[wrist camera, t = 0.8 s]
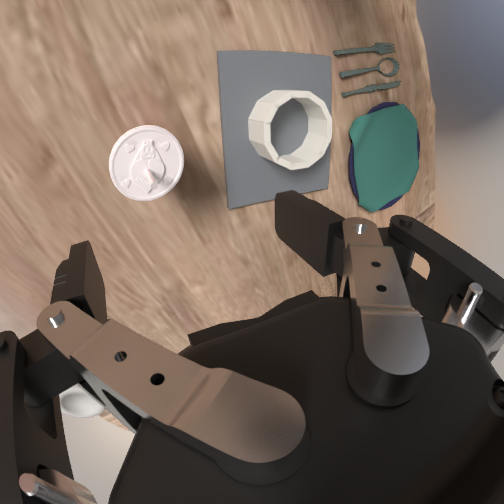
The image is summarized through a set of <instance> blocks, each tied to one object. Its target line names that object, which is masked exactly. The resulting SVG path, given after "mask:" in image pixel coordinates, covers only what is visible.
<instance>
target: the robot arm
mask: <svg viewBox="0 0 504 504" xmlns="http://www.w3.org/2000/svg"><path fill="white" fill-rule="evenodd" d="M275 229H276V233H277V235H278V237H279V238H280V239H281V240H282V241H283V242H284V243H285V244H287V245H288V246H289V247H290V248H291V249H292V250H293V251H295V252H296V253H297V254H298V255H299V256H300V257H301V258H303V259H304V260H305V261H306V262H307V263H308V264H309V265H310V266H312V267H313V268H314V269H315V270H316V271H317V272H318V273H319V274H321V275H322V276H323V277H325V276H327V275H330V274H332V273H336V276H335V297H320V298H319V297H318V296H317V295H316V294H315V293H314V292H313V291H312V290H311V291H308V292H305V293H303V294H300V295H298V296H295V297H293V298H290V299H287V300H285V301H283V302H282V303H280V304H279V305H277V306H276V307H274V308H273V309H271V310H270V311H268V312H266V313H265V314H263V315H262V316H260V317H258V318H254V319H248V320H241V321H235V322H228V323H221V324H218V325H215V326H212V327H209V328H206V329H203V330H200V331H197V332H194V333H191V334H188V337H189V341H190V344H191V345H190V346H188V347H187V348H185V349H184V350H182V351H181V352H180V353H178V354H176V353H174V352H172V351H170V350H168V349H166V348H164V347H162V346H160V345H158V344H157V343H155V342H153V341H151V340H149V339H147V338H145V337H143V336H142V335H140V334H138V333H136V332H134V331H133V330H131V329H129V328H127V327H126V326H124V325H122V324H120V323H119V322H117V321H115V320H113V319H108V320H107V312H106V299H105V287H104V282H103V278H102V275H101V272H100V270H99V267H98V264H97V261H96V258H95V256H94V253H93V250H92V247H91V244H90V242H89V241H88V240H87V241H84V242H81V243H78V244H74V245H71V249H70V255H69V259H67V260H64V261H62V263H61V264H60V265H59V267H58V268H57V270H56V275H55V280H54V286H53V291H52V297H51V303H50V305H49V306H47V307H46V308H45V309H44V310H43V311H42V312H41V313H40V315H39V316H38V319H37V328H38V329H36V330H35V331H33V332H32V333H30V334H28V335H27V336H25V337H23V338H21V339H20V340H19V339H18V337H17V336H16V334H15V333H14V332H12V331H3V332H1V333H0V504H97V502H96V500H95V498H94V496H93V495H92V493H91V492H90V491H89V490H88V489H87V488H86V487H85V486H83V485H81V484H79V483H78V482H76V481H74V478H73V474H72V469H71V465H70V460H69V456H68V451H67V446H66V440H65V434H64V429H63V422H62V414H61V406H60V397H59V394H61V393H62V392H64V391H66V390H68V389H69V388H71V387H73V386H74V385H76V384H77V385H78V386H79V387H81V388H82V389H83V390H84V391H85V392H86V393H87V394H88V395H90V396H91V397H92V398H93V399H94V400H95V401H97V402H98V403H99V404H100V405H101V406H103V407H104V408H105V409H106V410H107V411H109V412H110V413H111V414H112V415H113V416H115V417H116V418H117V419H118V420H119V421H120V422H121V423H122V424H123V425H124V426H126V427H127V428H128V429H129V430H130V431H132V432H133V433H135V436H134V439H133V441H132V443H131V446H130V448H129V451H128V453H127V455H126V458H125V460H124V462H123V465H122V467H121V469H120V472H119V474H118V477H117V479H116V482H115V484H114V486H113V489H112V491H111V494H110V498H109V503H108V504H504V381H503V380H502V379H501V378H500V376H499V375H498V374H497V372H496V371H495V369H494V367H493V366H492V364H491V361H492V360H493V358H494V357H495V356H496V354H497V352H498V351H499V350H500V348H501V347H502V345H503V344H504V279H503V278H502V277H500V276H499V275H498V274H496V273H495V272H494V271H492V270H491V269H490V268H488V267H487V266H486V265H484V264H483V263H482V262H480V261H479V260H477V259H476V258H474V257H473V256H472V255H470V254H469V253H467V252H466V251H464V250H463V249H461V248H460V247H459V246H457V245H455V244H454V243H452V242H451V241H449V240H448V239H446V238H445V237H443V236H442V235H440V234H439V233H437V232H436V231H434V230H432V229H431V228H429V227H428V226H426V225H424V224H423V223H421V222H419V221H418V220H416V219H414V218H412V217H409V216H406V215H394V216H392V217H391V219H390V224H389V227H385V228H377V225H376V224H375V223H374V222H372V221H370V220H368V219H365V218H360V217H351V218H347V219H345V218H343V217H342V216H340V215H338V214H337V213H335V212H333V211H332V210H329V209H328V208H327V207H325V206H323V205H322V204H320V203H318V202H316V201H314V200H311V199H308V198H307V197H305V196H303V195H301V194H300V193H298V192H296V191H294V190H289V191H284V192H279V193H277V194H276V195H275ZM415 252H416V253H417V254H419V255H420V256H421V257H423V258H424V259H425V260H427V262H428V263H429V266H430V273H429V276H428V278H427V280H426V279H425V278H423V277H422V276H421V275H420V274H418V273H417V272H416V271H415V270H413V269H412V268H411V265H412V261H413V258H414V254H415ZM412 307H413V308H414V309H413V308H412ZM420 314H421V315H422V316H423V317H424V318H423V317H421V316H420Z"/></svg>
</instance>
